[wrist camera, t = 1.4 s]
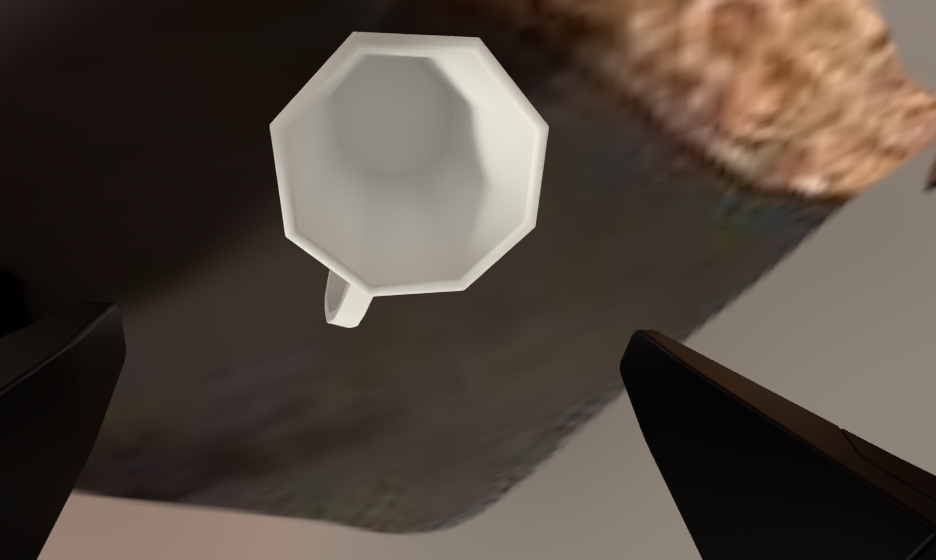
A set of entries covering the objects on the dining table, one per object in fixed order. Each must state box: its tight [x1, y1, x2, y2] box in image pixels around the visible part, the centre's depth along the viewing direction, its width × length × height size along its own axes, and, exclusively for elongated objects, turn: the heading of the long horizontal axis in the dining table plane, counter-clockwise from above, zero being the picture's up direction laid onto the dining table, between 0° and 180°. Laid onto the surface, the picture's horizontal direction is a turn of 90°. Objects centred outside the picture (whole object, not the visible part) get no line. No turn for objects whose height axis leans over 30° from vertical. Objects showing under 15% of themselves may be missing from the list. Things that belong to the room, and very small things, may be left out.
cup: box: [270, 32, 549, 328], centre depth 16 cm, size 7×10×8 cm
